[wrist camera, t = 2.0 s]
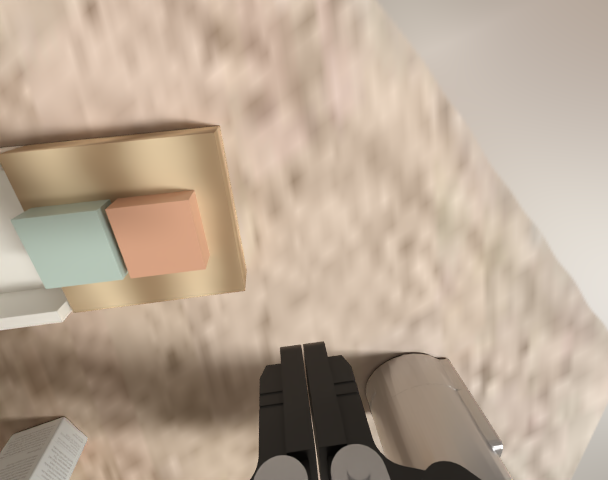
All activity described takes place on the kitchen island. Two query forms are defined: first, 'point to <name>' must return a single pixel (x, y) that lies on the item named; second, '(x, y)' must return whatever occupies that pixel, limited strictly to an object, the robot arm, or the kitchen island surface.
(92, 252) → the sage tile
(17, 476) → the skincare box
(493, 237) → the kitchen island surface
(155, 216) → the terracotta tile
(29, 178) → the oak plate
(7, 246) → the box
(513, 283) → the kitchen island surface
